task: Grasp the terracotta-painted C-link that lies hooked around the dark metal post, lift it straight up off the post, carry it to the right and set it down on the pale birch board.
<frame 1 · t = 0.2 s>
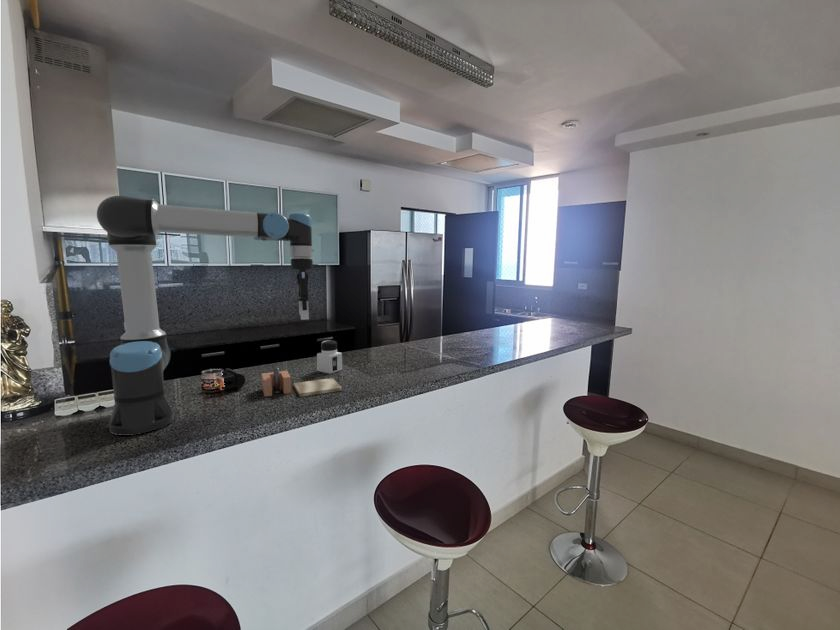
hand: (303, 316, 141), 27 cm above the countertop, fingers open, 13 cm apart
end cap: (230, 389, 144), on the countertop
container: (329, 370, 168), on the countertop
board: (317, 388, 144), on the countertop
stand: (277, 392, 140), on the countertop
c link: (276, 391, 141), on the countertop
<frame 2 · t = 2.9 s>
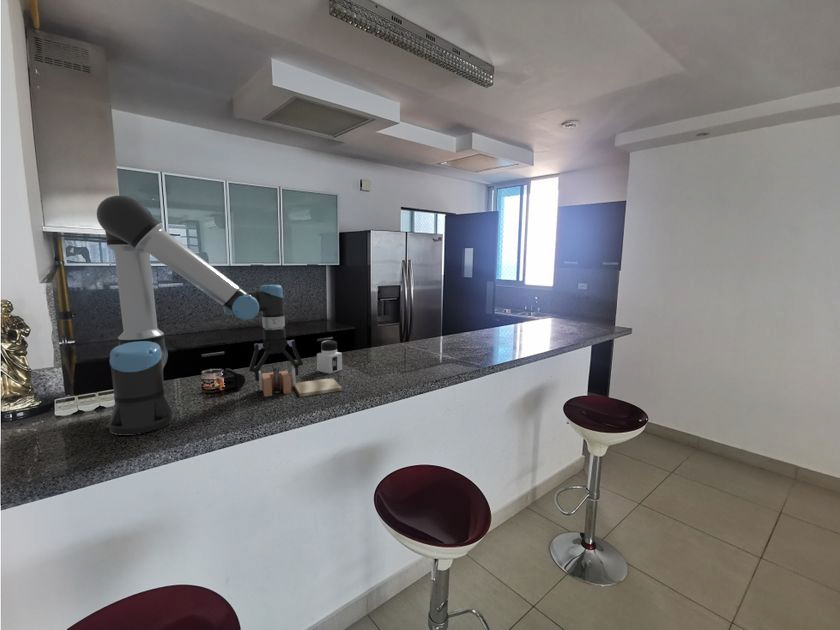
hand: (277, 386, 142), 1 cm above the countertop, fingers open, 11 cm apart
nothing on the countertop moved.
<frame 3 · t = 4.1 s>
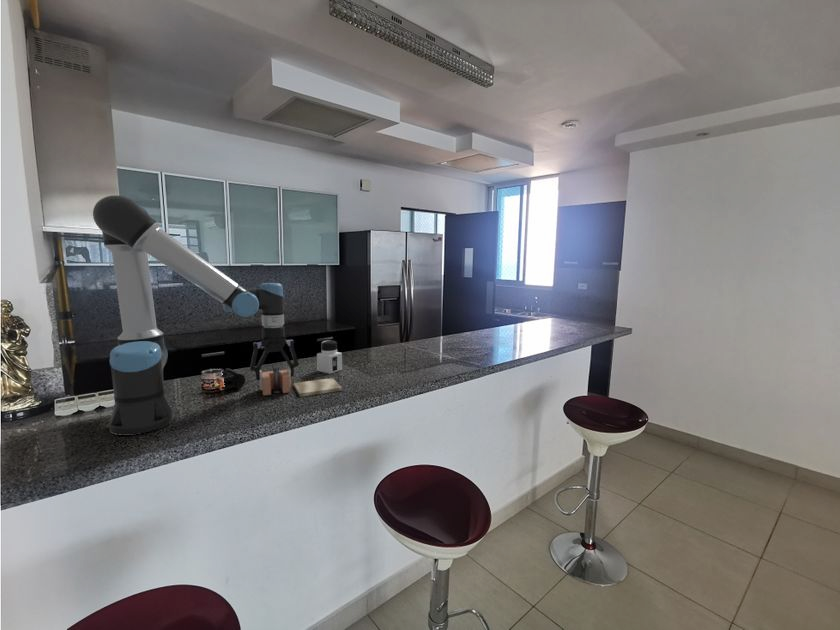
hand: (275, 386, 141), 1 cm above the countertop, fingers closed on c link, 9 cm apart
c link: (275, 390, 141), on the countertop, touching gripper
everything else where it was.
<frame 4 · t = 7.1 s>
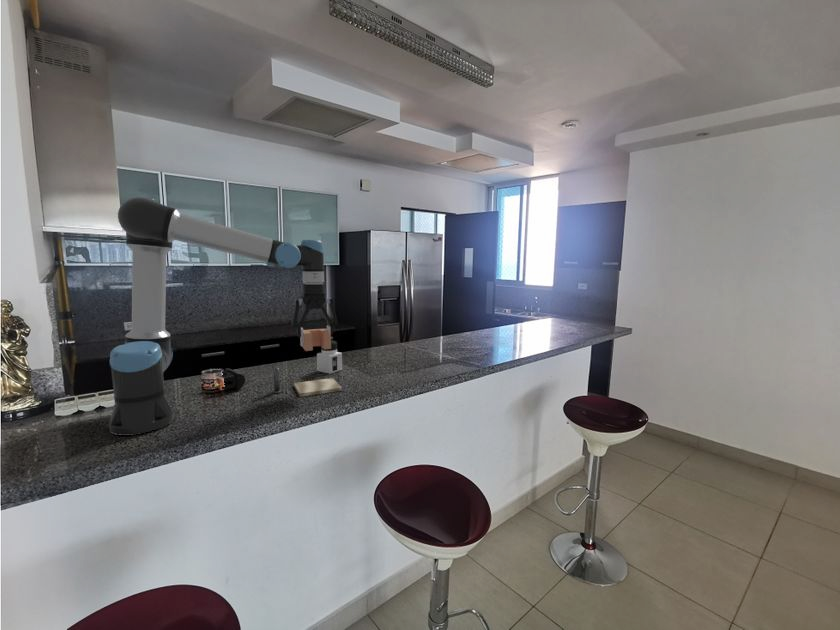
hand: (315, 344, 143), 17 cm above the countertop, fingers closed on c link, 9 cm apart
c link: (316, 347, 142), point 16 cm above the countertop, touching gripper
everything else where it was.
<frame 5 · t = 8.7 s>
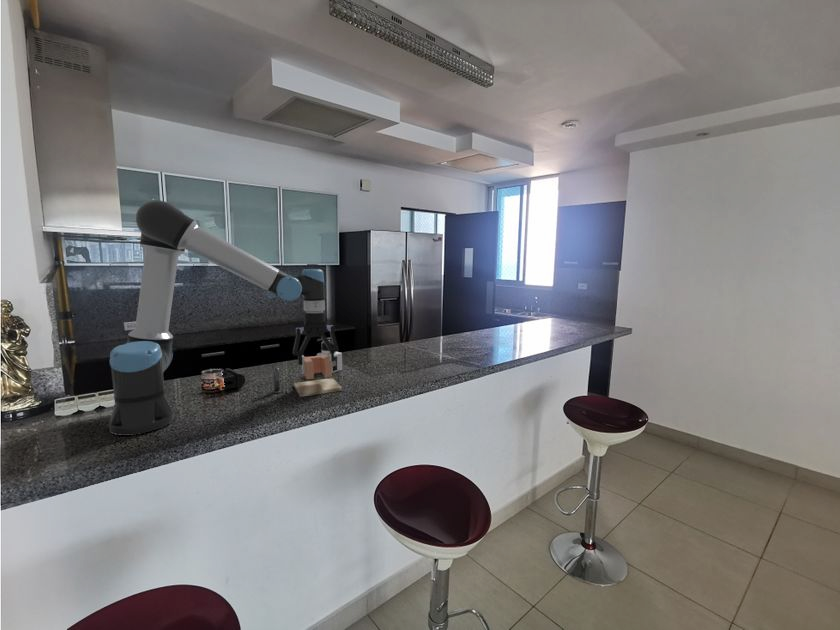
hand: (316, 371, 144), 6 cm above the countertop, fingers closed on c link, 9 cm apart
c link: (317, 374, 143), point 5 cm above the countertop, touching gripper
everything else where it was.
when the fingers open (3 cm above the countertop, at t = 10.2 s): c link drops 1 cm, resting on board.
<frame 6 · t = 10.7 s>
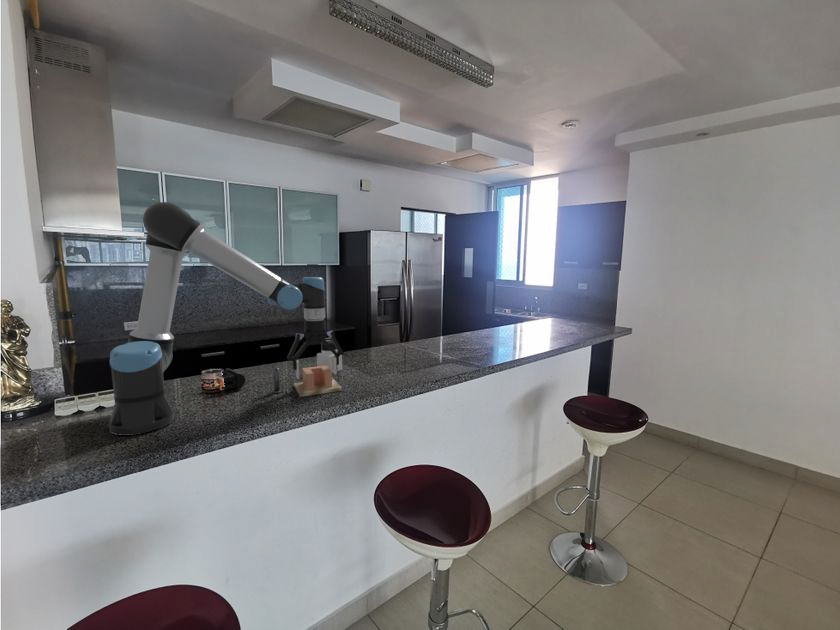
hand: (316, 375, 144), 5 cm above the countertop, fingers open, 13 cm apart
c link: (317, 385, 144), point 1 cm above the countertop, touching board
everything else where it was.
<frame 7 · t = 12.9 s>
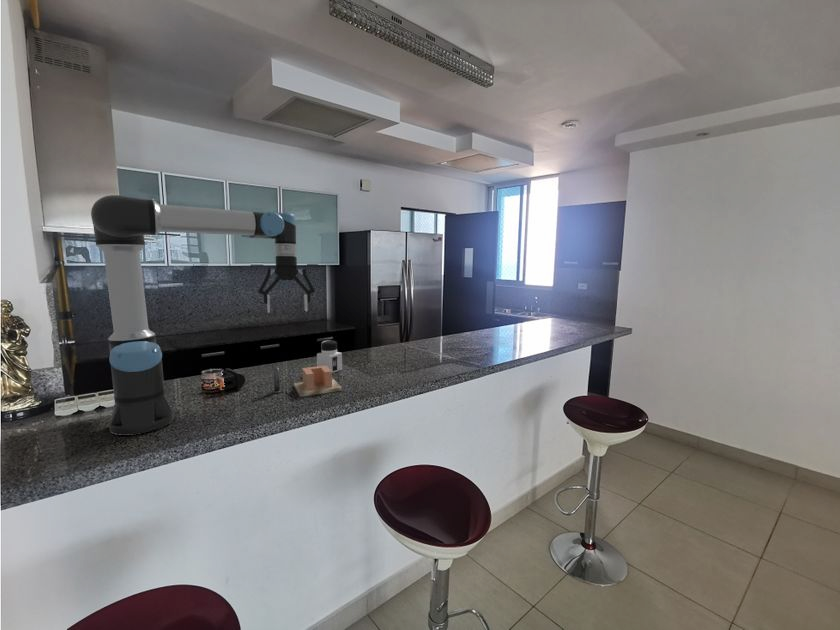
hand: (287, 311, 148), 28 cm above the countertop, fingers open, 13 cm apart
nothing on the countertop moved.
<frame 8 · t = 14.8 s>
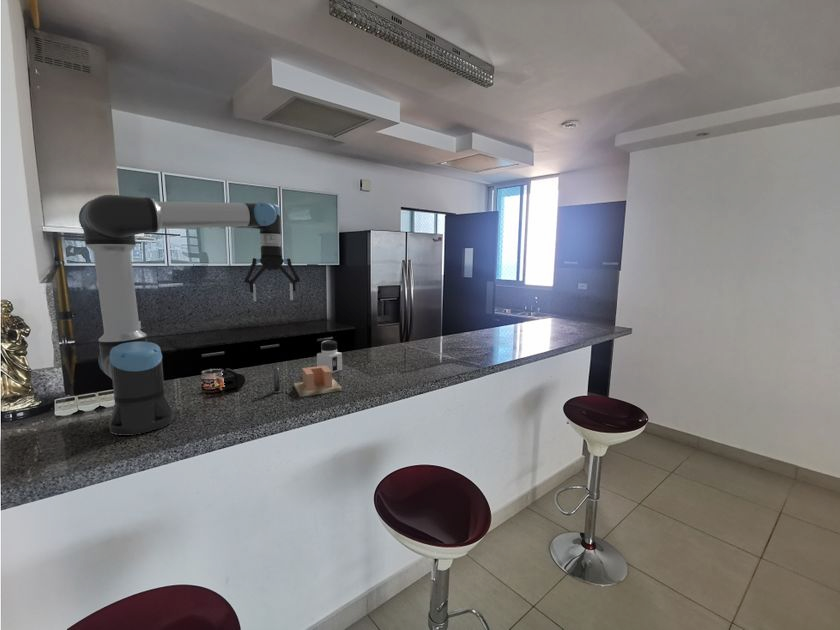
hand: (273, 300, 151), 32 cm above the countertop, fingers open, 13 cm apart
nothing on the countertop moved.
at the end: c link inside the target area on the board (0.1 cm from its centre), point 1.2 cm above the board's base; c link tilted 0°; the gripper is holding nothing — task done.
